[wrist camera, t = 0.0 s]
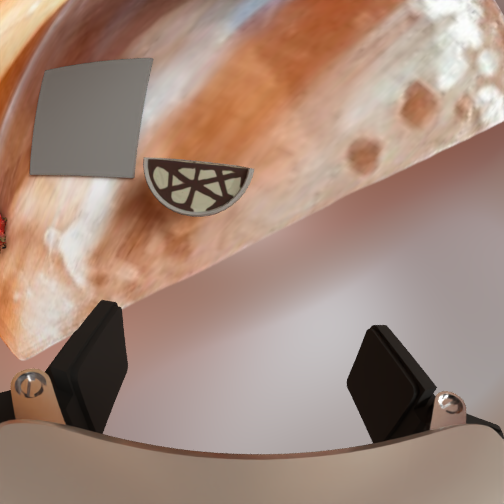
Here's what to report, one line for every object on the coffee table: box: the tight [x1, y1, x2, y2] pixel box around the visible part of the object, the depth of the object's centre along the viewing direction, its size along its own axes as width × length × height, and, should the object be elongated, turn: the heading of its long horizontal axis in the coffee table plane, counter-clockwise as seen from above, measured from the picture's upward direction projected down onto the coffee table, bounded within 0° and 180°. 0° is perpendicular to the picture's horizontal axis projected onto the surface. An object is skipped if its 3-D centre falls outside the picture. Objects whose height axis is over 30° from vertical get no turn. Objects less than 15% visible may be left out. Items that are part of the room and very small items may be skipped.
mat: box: [30, 58, 153, 178], centre depth 33 cm, size 18×20×1 cm
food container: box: [143, 158, 254, 217], centre depth 33 cm, size 12×6×10 cm, turn 82°
